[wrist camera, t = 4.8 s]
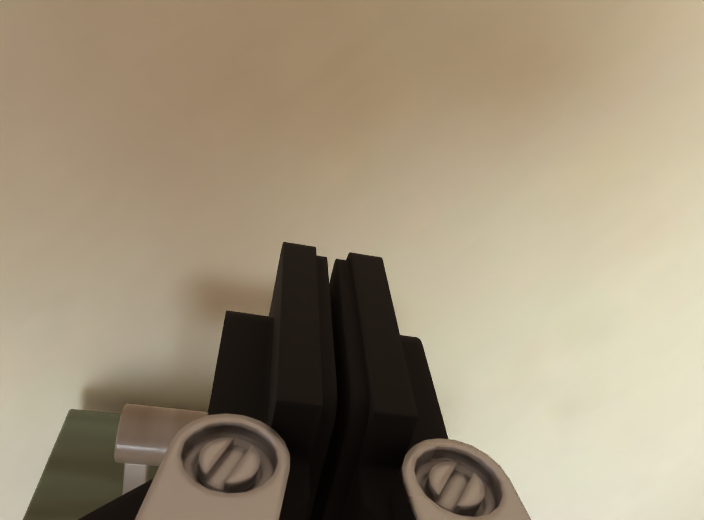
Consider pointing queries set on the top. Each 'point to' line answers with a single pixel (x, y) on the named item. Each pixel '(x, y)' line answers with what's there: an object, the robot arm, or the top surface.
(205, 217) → the top surface
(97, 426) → the drawer
